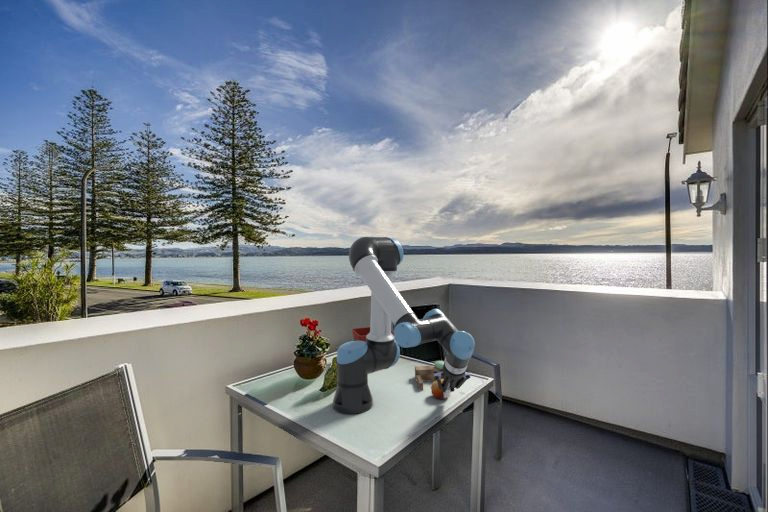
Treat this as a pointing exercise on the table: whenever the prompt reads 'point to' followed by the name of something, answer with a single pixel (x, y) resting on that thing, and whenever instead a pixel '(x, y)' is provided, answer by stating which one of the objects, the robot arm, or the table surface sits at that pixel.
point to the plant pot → (362, 333)
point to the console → (426, 372)
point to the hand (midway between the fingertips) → (445, 393)
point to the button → (439, 364)
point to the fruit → (437, 390)
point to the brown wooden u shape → (419, 381)
